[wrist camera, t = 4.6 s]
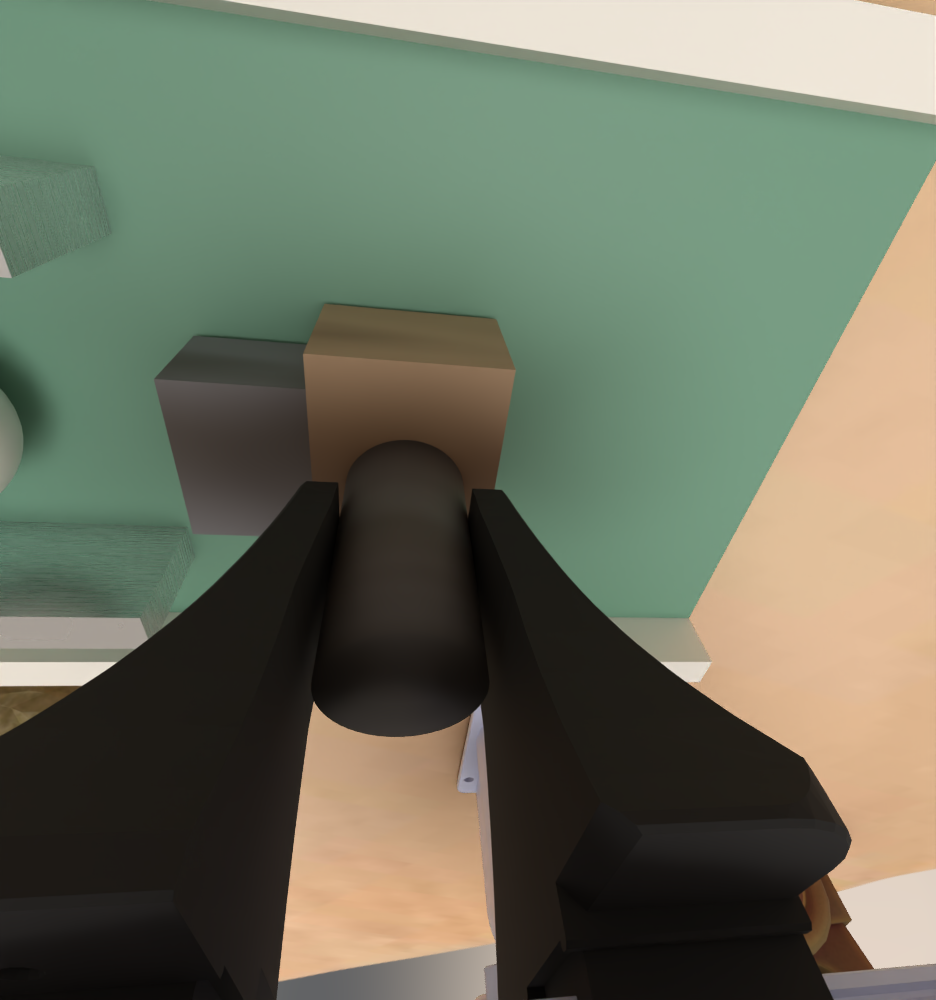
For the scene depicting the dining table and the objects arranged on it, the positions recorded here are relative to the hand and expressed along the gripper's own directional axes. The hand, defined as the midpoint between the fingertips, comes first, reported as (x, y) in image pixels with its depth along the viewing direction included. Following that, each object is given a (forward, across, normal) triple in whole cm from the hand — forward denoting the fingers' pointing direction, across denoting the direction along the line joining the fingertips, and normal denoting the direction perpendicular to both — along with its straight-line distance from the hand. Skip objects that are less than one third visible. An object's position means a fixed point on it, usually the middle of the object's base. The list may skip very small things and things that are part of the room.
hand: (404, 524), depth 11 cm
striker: (+4, +2, 0) cm, 4 cm away
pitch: (+5, +2, 0) cm, 6 cm away
